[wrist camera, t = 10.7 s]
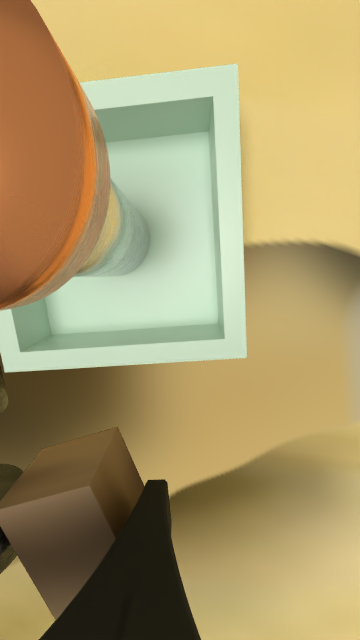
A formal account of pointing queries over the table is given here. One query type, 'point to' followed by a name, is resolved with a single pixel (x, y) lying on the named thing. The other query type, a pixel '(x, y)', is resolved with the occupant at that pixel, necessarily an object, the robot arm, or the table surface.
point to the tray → (155, 235)
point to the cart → (6, 489)
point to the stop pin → (54, 172)
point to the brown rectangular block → (70, 512)
